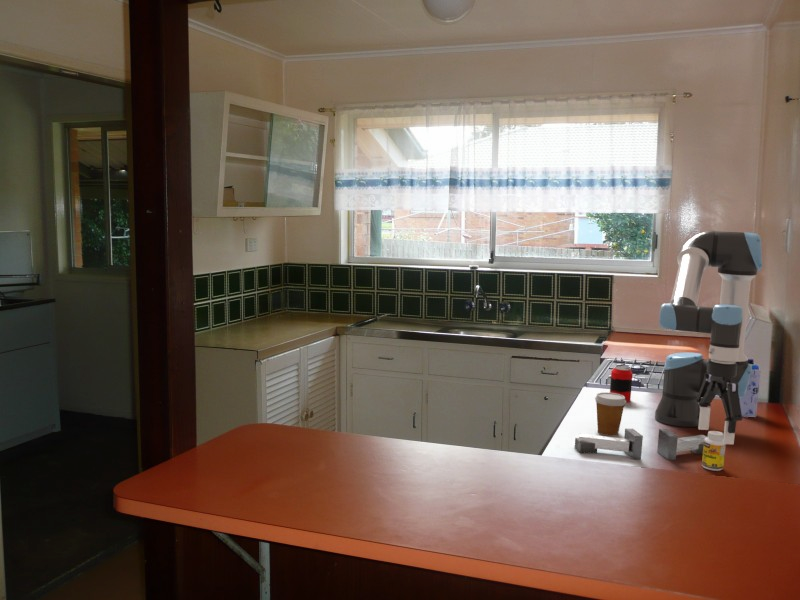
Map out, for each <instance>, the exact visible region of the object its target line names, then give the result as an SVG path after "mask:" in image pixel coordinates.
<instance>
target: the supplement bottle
mask: <svg viewBox="0 0 800 600" xmlns="http://www.w3.org/2000/svg"><path fill="white" fill-rule="evenodd" d="M723 436H724V432H722V431H717V430H708V432H707V437H706V438H705V439H704V448H703V454H702V459H701V460H702V461H701V466H702V468H704V469H706V470H708V471H714V472H720V471H723V469H724V464H725V453H726V447H727V444H723Z"/></svg>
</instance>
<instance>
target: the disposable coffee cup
mask: <svg viewBox="0 0 800 600" xmlns="http://www.w3.org/2000/svg"><path fill="white" fill-rule="evenodd" d="M594 399H595V403H596V419H597V420H596V421H597V433H599V434H601V435H602V436H604V435H605V436H610V437H613V436H617V435H618V434H619V433H620V426H621V422H622V419H623V418H622V417H623V412H624V408H625V405H626V403H627V402H626V400H625V397H624V396H623V395H620V394H616V393H610V392H604V391H603V392H598V393H596V397H594Z"/></svg>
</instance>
